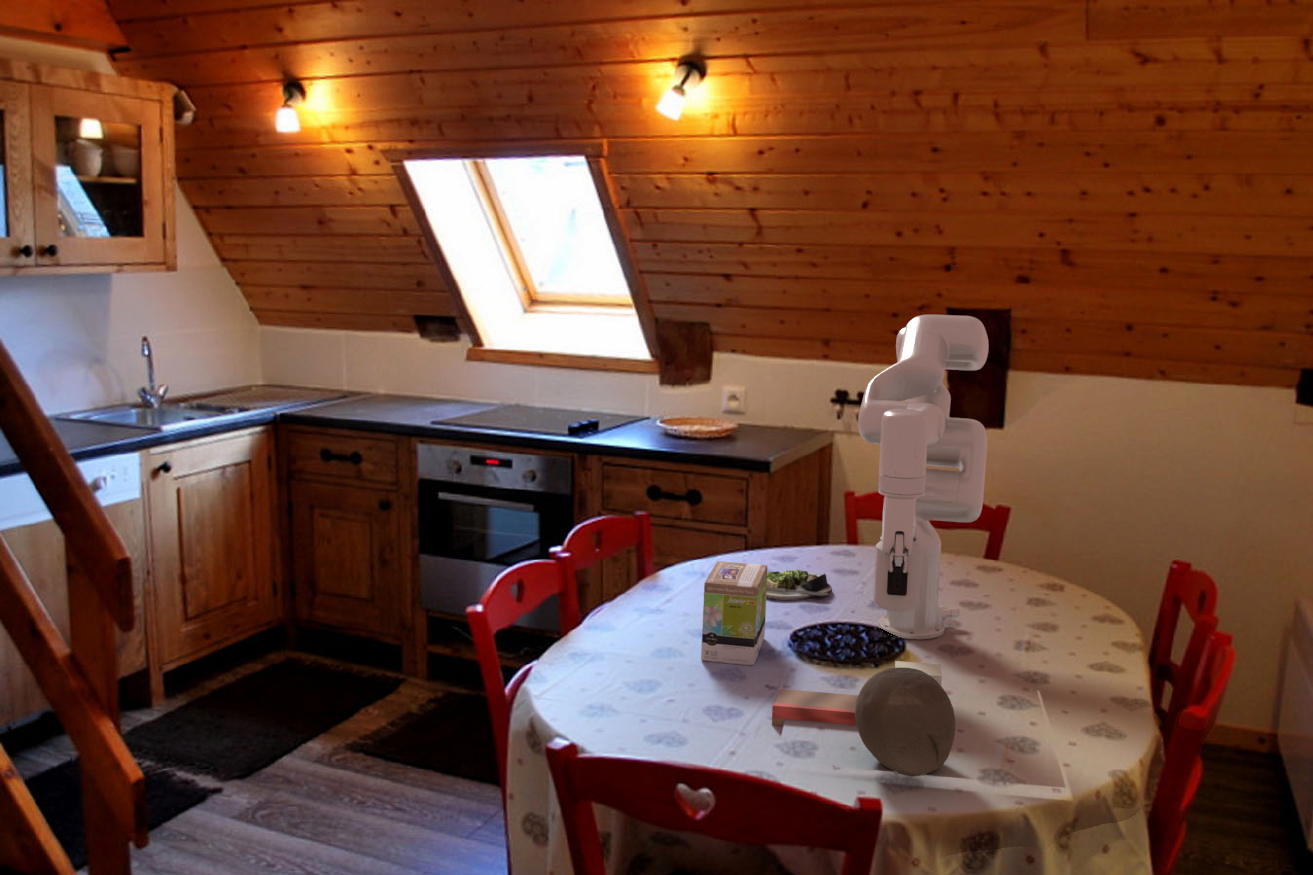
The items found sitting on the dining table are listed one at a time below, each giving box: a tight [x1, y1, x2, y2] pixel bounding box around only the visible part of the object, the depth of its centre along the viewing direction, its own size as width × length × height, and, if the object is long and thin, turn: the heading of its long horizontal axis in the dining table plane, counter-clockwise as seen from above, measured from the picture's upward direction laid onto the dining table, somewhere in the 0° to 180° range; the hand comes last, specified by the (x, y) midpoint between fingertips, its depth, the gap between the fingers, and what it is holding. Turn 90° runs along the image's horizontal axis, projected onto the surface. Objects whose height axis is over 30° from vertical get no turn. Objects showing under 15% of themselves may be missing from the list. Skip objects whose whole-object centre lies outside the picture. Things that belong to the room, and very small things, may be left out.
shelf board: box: [771, 688, 859, 727], centre depth 194 cm, size 26×12×3 cm, turn 79°
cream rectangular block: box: [894, 660, 943, 686], centre depth 191 cm, size 7×5×8 cm
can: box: [873, 533, 922, 612], centre depth 204 cm, size 8×8×12 cm
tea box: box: [700, 560, 768, 666], centre depth 222 cm, size 15×10×15 cm, turn 168°
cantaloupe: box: [855, 667, 957, 778], centre depth 174 cm, size 14×14×15 cm
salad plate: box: [766, 569, 833, 601], centre depth 259 cm, size 19×18×5 cm
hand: (896, 586), depth 204 cm, fingers closed on can, 7 cm apart
